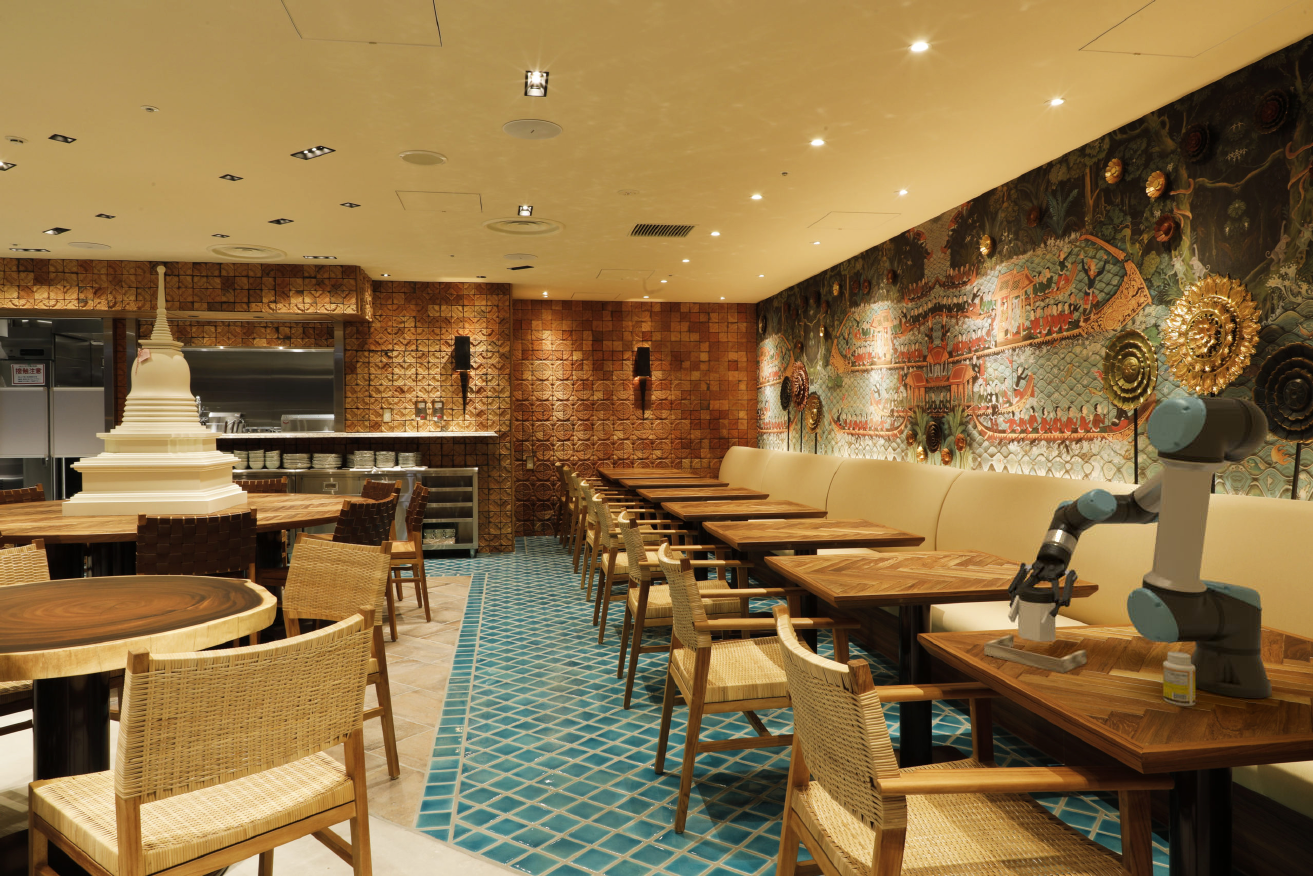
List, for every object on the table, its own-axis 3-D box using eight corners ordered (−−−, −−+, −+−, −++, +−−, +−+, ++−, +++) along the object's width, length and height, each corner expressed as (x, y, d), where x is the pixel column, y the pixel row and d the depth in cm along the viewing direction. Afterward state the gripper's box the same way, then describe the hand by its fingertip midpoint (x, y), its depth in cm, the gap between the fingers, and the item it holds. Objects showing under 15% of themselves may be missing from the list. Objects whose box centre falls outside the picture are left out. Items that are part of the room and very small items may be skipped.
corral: (1009, 646, 198) (1009, 634, 198) (1086, 662, 184) (1086, 650, 184) (984, 655, 190) (984, 643, 190) (1062, 673, 175) (1062, 660, 175)
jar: (1016, 631, 192) (1016, 585, 192) (1051, 634, 190) (1051, 587, 190) (1020, 640, 184) (1021, 592, 184) (1057, 643, 181) (1057, 594, 181)
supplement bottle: (1180, 697, 159) (1180, 649, 159) (1202, 707, 153) (1202, 657, 153) (1156, 698, 158) (1156, 650, 158) (1177, 707, 153) (1177, 658, 153)
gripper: (1102, 566, 189) (1075, 640, 179) (1022, 555, 205) (992, 623, 195) (1094, 547, 186) (1065, 621, 176) (1013, 538, 202) (982, 606, 192)
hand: (1027, 622), depth 185 cm, fingers closed on jar, 7 cm apart
